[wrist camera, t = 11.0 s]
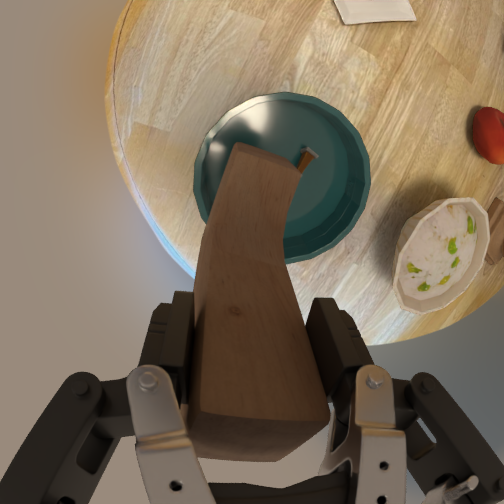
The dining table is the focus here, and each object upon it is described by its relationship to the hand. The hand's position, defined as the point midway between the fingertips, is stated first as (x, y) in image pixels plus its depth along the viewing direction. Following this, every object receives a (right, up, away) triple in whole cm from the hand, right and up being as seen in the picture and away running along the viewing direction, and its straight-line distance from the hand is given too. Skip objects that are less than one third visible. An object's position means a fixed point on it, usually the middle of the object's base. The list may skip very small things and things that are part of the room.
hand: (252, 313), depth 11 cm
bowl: (+26, +6, +29) cm, 39 cm away
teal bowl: (+3, +12, +23) cm, 26 cm away
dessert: (+14, +37, +10) cm, 41 cm away
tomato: (+38, +22, +20) cm, 48 cm away
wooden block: (-1, +7, +12) cm, 13 cm away
